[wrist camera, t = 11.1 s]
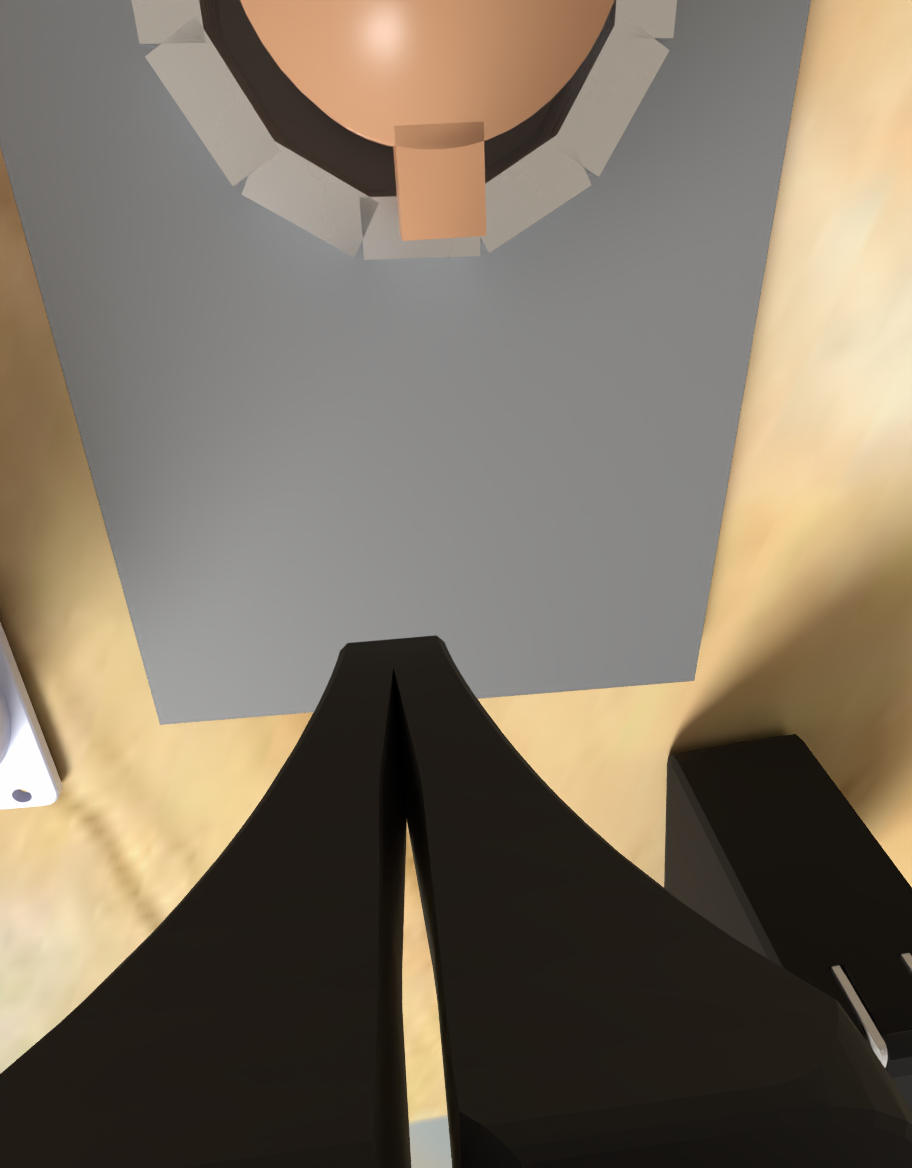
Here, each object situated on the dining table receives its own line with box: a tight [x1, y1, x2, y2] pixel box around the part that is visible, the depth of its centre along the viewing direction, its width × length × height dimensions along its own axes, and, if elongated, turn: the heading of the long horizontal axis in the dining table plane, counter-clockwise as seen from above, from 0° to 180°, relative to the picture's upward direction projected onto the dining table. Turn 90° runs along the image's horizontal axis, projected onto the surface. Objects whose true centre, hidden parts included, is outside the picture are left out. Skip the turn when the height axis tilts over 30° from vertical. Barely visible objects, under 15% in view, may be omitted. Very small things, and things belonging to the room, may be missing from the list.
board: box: [0, 0, 811, 725], centre depth 16 cm, size 15×22×1 cm
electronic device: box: [664, 734, 912, 1112], centre depth 23 cm, size 4×10×10 cm, turn 7°
